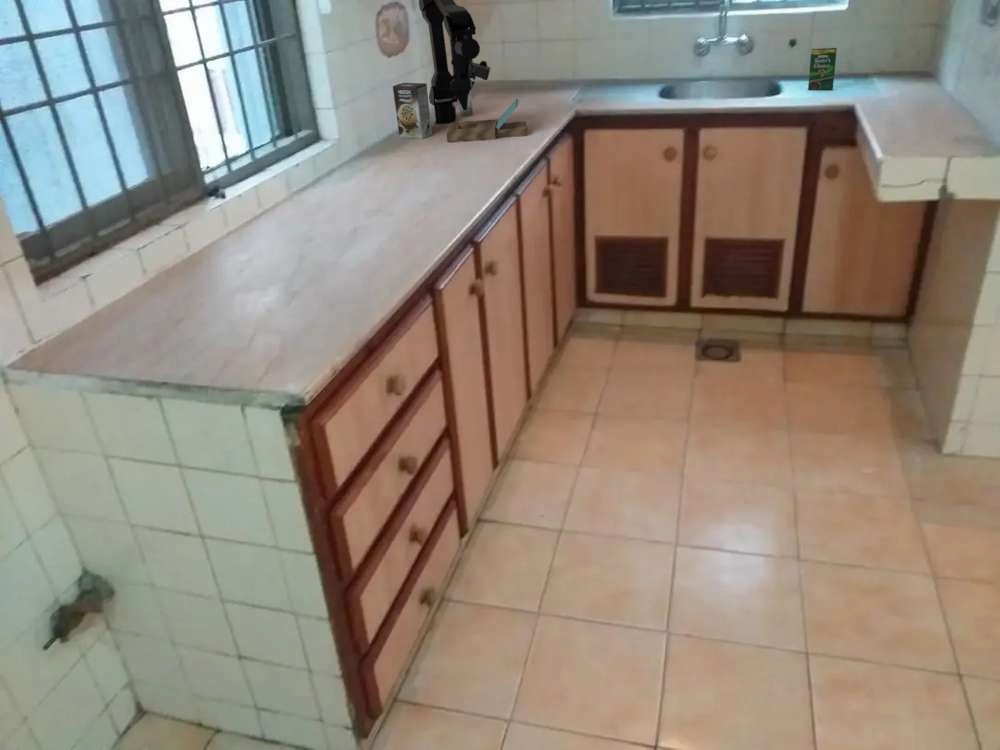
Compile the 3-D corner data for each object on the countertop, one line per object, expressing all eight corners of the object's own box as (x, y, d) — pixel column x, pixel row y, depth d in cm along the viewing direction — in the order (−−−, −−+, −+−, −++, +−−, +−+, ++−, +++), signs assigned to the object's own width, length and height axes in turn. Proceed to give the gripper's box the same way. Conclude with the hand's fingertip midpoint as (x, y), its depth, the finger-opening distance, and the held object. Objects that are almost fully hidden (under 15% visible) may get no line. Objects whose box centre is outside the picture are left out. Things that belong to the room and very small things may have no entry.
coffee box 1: (398, 138, 262) (391, 86, 254) (409, 133, 267) (402, 82, 259) (422, 139, 258) (415, 86, 250) (433, 134, 263) (426, 82, 255)
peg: (459, 117, 253) (457, 90, 249) (461, 114, 256) (458, 87, 252) (472, 116, 252) (470, 89, 248) (473, 113, 256) (471, 86, 252)
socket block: (447, 142, 252) (446, 132, 250) (452, 131, 264) (451, 122, 262) (525, 137, 250) (525, 127, 248) (526, 126, 262) (526, 117, 260)
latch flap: (498, 129, 251) (496, 127, 251) (499, 122, 260) (498, 120, 259) (517, 107, 247) (515, 105, 247) (518, 100, 256) (516, 98, 256)
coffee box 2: (806, 90, 276) (810, 49, 270) (808, 88, 278) (812, 47, 272) (831, 90, 273) (836, 49, 266) (833, 88, 275) (837, 47, 268)
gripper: (485, 58, 237) (489, 113, 244) (489, 48, 253) (493, 100, 261) (447, 61, 238) (452, 116, 245) (454, 51, 254) (459, 103, 262)
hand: (466, 108), depth 253 cm, fingers closed on peg, 4 cm apart
